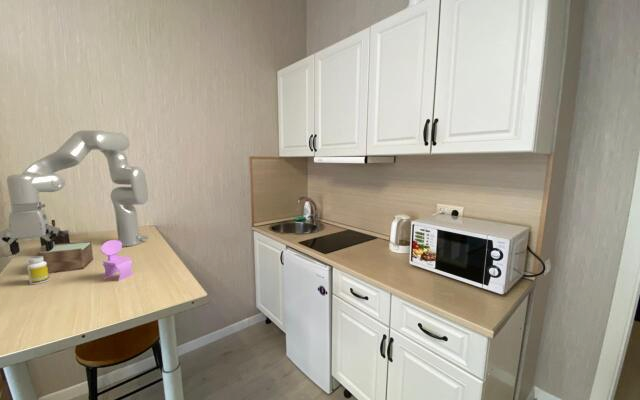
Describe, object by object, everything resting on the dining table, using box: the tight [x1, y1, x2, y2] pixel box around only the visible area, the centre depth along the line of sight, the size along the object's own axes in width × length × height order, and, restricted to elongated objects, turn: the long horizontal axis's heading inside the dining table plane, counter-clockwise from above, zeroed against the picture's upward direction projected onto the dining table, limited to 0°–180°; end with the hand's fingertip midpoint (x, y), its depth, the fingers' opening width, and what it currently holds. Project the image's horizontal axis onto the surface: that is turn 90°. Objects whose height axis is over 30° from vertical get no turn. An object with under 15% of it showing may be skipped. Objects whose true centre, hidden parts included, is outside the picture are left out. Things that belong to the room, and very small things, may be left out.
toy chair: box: [100, 239, 134, 282], centre depth 111 cm, size 8×9×15 cm
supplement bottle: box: [26, 255, 50, 285], centre depth 107 cm, size 5×5×10 cm
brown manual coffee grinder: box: [39, 219, 71, 247], centre depth 136 cm, size 16×11×18 cm
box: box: [36, 240, 94, 275], centre depth 121 cm, size 14×12×9 cm
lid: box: [39, 242, 90, 253], centre depth 120 cm, size 14×9×3 cm, turn 113°
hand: (33, 252), depth 105 cm, fingers open, 9 cm apart
